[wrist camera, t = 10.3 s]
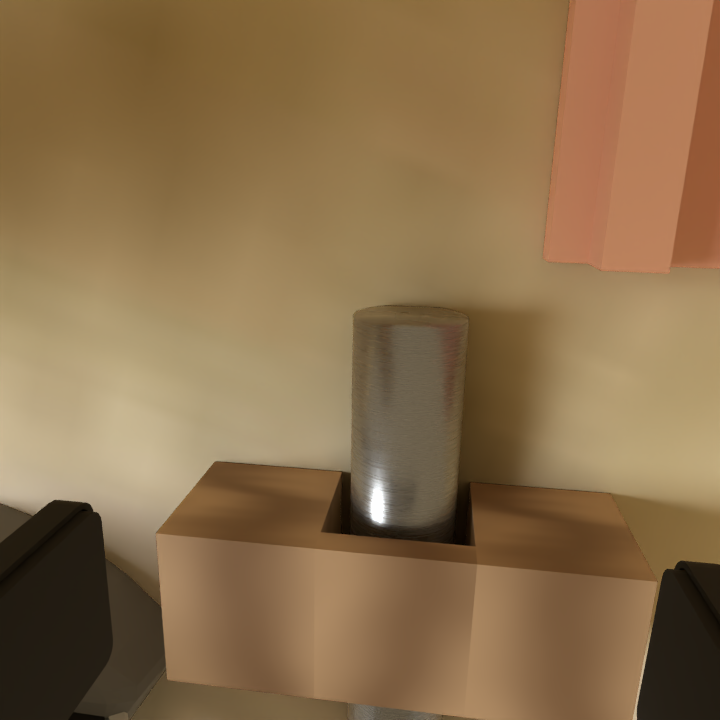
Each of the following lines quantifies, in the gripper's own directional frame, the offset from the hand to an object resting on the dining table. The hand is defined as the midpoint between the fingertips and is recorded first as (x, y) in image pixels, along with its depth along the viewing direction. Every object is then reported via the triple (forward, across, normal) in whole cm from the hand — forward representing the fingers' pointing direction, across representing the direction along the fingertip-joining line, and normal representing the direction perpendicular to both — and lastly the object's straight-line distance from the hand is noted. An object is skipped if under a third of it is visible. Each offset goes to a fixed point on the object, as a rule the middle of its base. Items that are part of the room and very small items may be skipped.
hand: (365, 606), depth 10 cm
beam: (+14, 0, +8) cm, 16 cm away
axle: (+12, 0, +8) cm, 15 cm away
